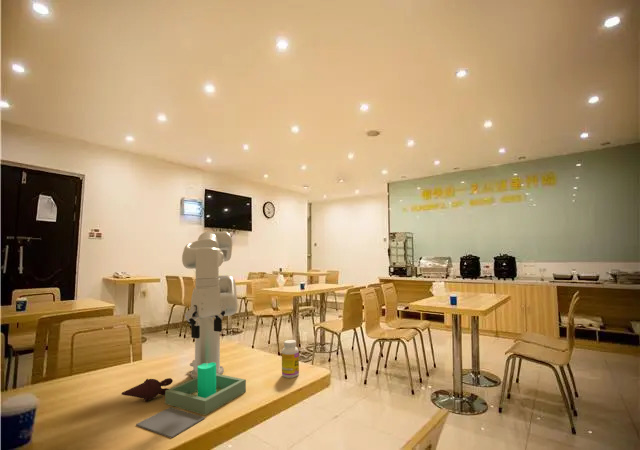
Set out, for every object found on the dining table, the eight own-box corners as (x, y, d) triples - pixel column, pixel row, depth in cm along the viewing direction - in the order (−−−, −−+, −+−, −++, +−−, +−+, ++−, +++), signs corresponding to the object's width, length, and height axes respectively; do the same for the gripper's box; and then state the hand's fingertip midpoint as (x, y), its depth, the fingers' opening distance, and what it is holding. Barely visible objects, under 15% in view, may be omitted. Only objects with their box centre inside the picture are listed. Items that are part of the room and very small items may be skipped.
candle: (220, 394, 110) (219, 358, 111) (208, 402, 104) (208, 364, 105) (205, 392, 112) (205, 357, 113) (193, 400, 106) (193, 362, 107)
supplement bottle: (296, 379, 122) (295, 343, 123) (279, 378, 123) (279, 343, 124) (301, 372, 128) (300, 339, 129) (285, 371, 130) (284, 338, 131)
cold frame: (165, 403, 104) (165, 390, 105) (208, 383, 120) (208, 371, 120) (205, 415, 96) (205, 401, 96) (245, 391, 112) (245, 379, 112)
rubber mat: (136, 425, 91) (136, 423, 91) (170, 408, 101) (170, 407, 101) (171, 438, 84) (171, 436, 84) (204, 418, 94) (204, 417, 94)
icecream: (123, 390, 100) (175, 382, 108) (122, 376, 106) (171, 370, 115) (120, 411, 101) (171, 402, 109) (119, 396, 107) (168, 389, 115)
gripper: (217, 281, 121) (217, 328, 119) (178, 285, 105) (177, 339, 104) (233, 281, 117) (233, 329, 115) (194, 286, 102) (194, 341, 100)
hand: (207, 334), depth 109 cm, fingers open, 9 cm apart
